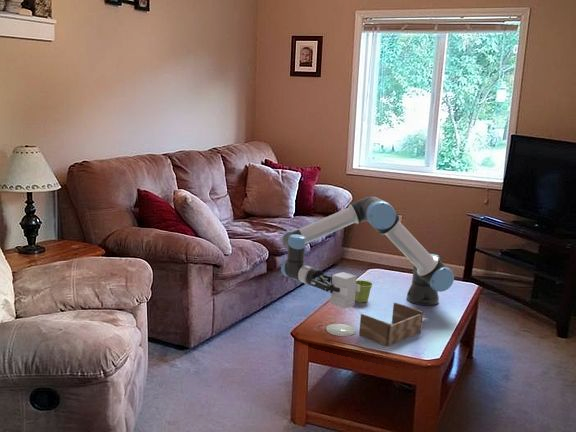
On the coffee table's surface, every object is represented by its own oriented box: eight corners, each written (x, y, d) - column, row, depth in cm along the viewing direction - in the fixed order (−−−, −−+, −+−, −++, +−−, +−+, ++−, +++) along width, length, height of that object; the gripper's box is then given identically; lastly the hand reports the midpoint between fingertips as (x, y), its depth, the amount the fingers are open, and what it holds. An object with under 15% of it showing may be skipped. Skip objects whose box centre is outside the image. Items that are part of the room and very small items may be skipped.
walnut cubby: (393, 322, 264) (395, 302, 262) (420, 332, 255) (423, 311, 253) (359, 335, 247) (360, 314, 245) (387, 346, 238) (389, 324, 236)
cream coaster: (338, 322, 259) (339, 321, 259) (361, 331, 251) (361, 330, 251) (320, 329, 251) (320, 328, 251) (342, 338, 243) (342, 337, 243)
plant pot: (348, 301, 287) (350, 283, 285) (355, 296, 296) (356, 278, 294) (367, 305, 283) (369, 287, 282) (373, 299, 292) (375, 282, 290)
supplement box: (355, 305, 249) (357, 275, 247) (343, 309, 244) (346, 279, 241) (341, 300, 254) (343, 271, 252) (329, 304, 249) (331, 274, 246)
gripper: (326, 280, 268) (367, 294, 252) (294, 289, 253) (336, 304, 238) (327, 264, 266) (369, 277, 250) (295, 271, 252) (337, 286, 236)
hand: (353, 290), depth 244 cm, fingers closed on supplement box, 7 cm apart
